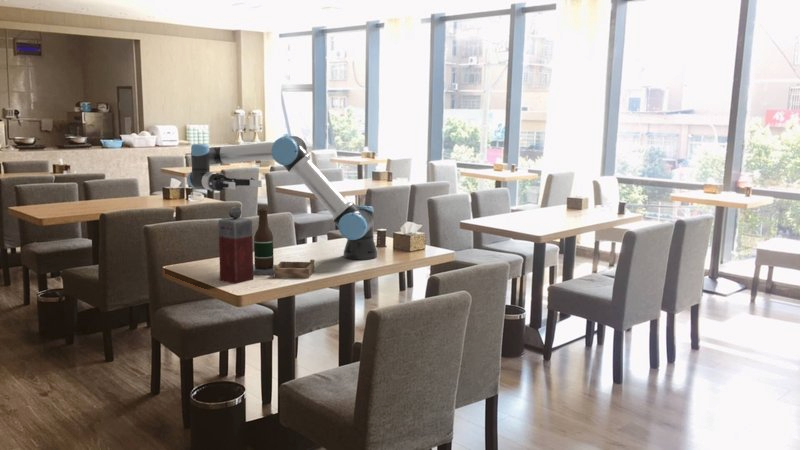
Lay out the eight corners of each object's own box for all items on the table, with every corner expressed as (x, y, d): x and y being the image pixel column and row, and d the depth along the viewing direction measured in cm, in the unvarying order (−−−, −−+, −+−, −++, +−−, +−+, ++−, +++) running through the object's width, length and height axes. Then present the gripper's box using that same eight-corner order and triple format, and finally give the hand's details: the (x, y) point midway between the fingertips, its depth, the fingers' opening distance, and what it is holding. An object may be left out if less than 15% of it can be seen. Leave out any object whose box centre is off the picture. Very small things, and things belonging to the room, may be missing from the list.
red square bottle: (233, 275, 267) (231, 204, 263) (253, 279, 261) (252, 206, 257) (215, 279, 260) (213, 206, 255) (236, 283, 253) (234, 208, 249)
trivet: (282, 268, 281) (282, 264, 280) (276, 274, 269) (276, 271, 268) (253, 267, 281) (253, 264, 281) (245, 274, 269) (245, 270, 269)
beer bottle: (277, 266, 277) (276, 207, 273) (267, 270, 270) (266, 210, 266) (260, 264, 279) (259, 206, 276) (250, 268, 272) (249, 209, 268)
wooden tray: (314, 270, 277) (314, 259, 276) (309, 278, 263) (309, 266, 263) (280, 269, 277) (280, 259, 277) (273, 277, 264) (273, 266, 263)
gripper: (238, 188, 301) (271, 191, 288) (190, 192, 281) (223, 196, 269) (238, 171, 300) (271, 174, 287) (189, 174, 280) (222, 177, 267)
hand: (248, 184), depth 278 cm, fingers open, 13 cm apart
